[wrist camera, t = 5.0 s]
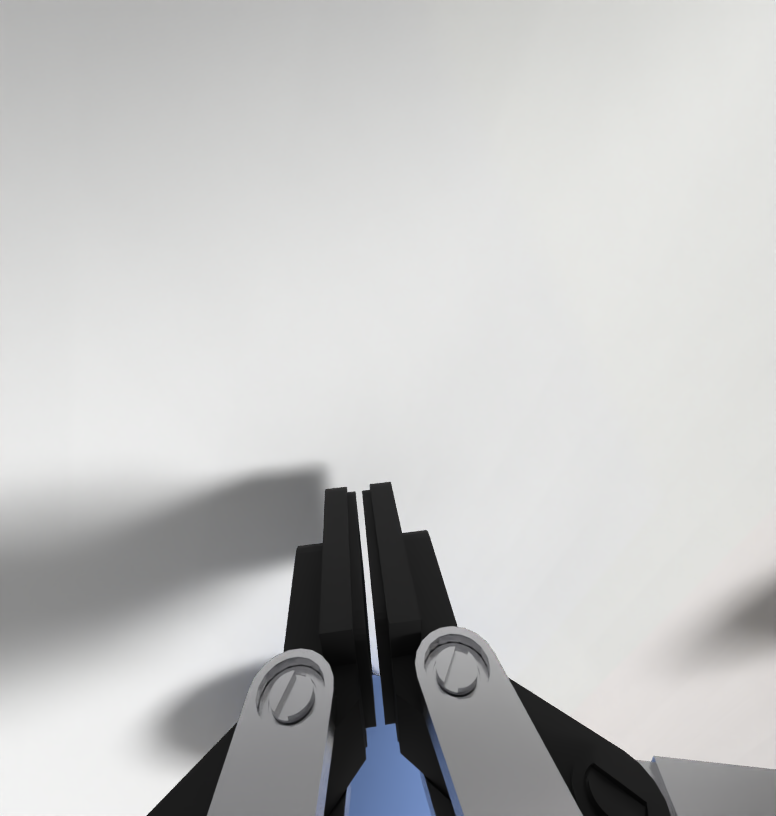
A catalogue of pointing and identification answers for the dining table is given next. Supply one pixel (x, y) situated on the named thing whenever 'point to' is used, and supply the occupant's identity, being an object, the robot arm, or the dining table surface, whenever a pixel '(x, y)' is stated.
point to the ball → (386, 773)
